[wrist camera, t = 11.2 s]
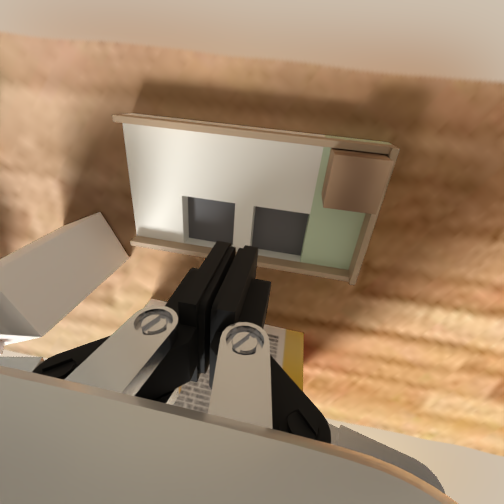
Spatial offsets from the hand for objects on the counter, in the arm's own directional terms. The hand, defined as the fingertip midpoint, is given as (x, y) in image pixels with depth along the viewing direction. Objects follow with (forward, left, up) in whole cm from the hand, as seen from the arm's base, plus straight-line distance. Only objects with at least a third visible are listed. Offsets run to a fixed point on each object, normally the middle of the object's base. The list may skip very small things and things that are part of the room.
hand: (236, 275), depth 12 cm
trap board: (+4, +2, -21) cm, 21 cm away
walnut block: (-6, +2, -19) cm, 20 cm away
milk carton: (+27, +2, -21) cm, 34 cm away
